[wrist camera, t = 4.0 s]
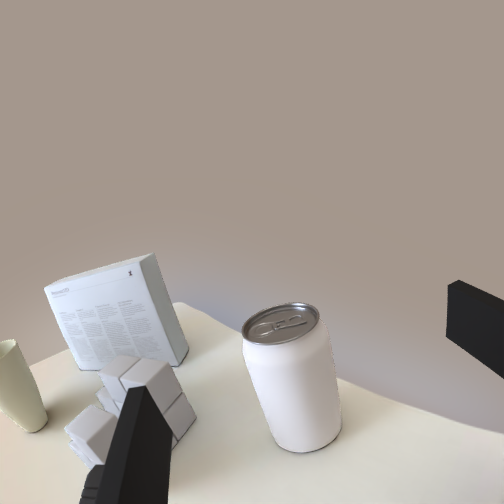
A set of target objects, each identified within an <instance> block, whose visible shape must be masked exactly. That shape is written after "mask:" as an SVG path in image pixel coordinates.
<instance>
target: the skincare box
mask: <svg viewBox="0 0 504 504" xmlns="http://www.w3.org/2000/svg"><path fill="white" fill-rule="evenodd" d="M44 291H45V293H46V295H47V298H48V300H49V303H50V305H51V308H52V310H53V313H54V315H55V317H56V320H57V323H58V325H59V327H60V329H61V332H62V334H63V336H64V338H65V340H66V342H67V344H68V346H69V348H70V350H71V352H72V354H73V356H74V358H75V360H76V362H77V364H78V366H79V368H80V370H101V369H102V368H103V367H104V366H106V365H107V364H108V363H109V362H110V361H112V360H113V359H114V358H115V357H116V356H118V355H119V354H120V355H126V356H133V357H139V358H141V359H142V358H146V359H153V360H160V361H168V362H169V364H170V366H178V365H180V363H181V362H182V360H183V358H184V357H185V355H186V353H187V351H188V349H189V346H188V344H187V342H186V339H185V337H184V334H183V332H182V329H181V327H180V324H179V321H178V319H177V316H176V314H175V311H174V308H173V306H172V303H171V300H170V298H169V295H168V292H167V289H166V286H165V283H164V281H163V278H162V275H161V272H160V269H159V266H158V263H157V260H156V257H155V254H154V253H150V254H147V255H144V256H140V257H136V258H132V259H128V260H124V261H121V262H117V263H114V264H110V265H107V266H104V267H100V268H96V269H93V270H89V271H86V272H83V273H79V274H76V275H72V276H69V277H66V278H62V279H60V280H58V281H56V282H54V283H52V284H50V285H49V286H47V287H45V288H44Z"/></svg>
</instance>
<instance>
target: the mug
mask: <svg viewBox="0 0 504 504" xmlns="http://www.w3.org/2000/svg"><path fill="white" fill-rule="evenodd" d="M0 410H1V411H2V412H3V413H4V414H5V415H6V416H7V417H8V418H10V419H11V420H12V421H13V422H15V423H16V424H17V425H18V426H20V427H21V428H22V429H23V430H25V431H26V432H28V433H33V432H36V431H38V430H40V429H41V428H42V427H43V426H44V425H45V424H46V422H47V420H48V417H47V414H46V411H45V408H44V405H43V402H42V399H41V396H40V393H39V390H38V387H37V384H36V382H35V380H34V377H33V375H32V373H31V371H30V369H29V367H28V365H27V363H26V361H25V359H24V357H23V355H22V352H21V350H20V348H19V346H18V343H17V341H16V340H14V339H11V340H6V341H3V342H0Z"/></svg>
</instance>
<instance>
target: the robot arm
mask: <svg viewBox="0 0 504 504" xmlns="http://www.w3.org/2000/svg"><path fill="white" fill-rule="evenodd" d="M446 337H447V338H448V339H450V340H451V341H453V342H454V343H455V344H457V345H458V346H460V347H461V348H462V349H464V350H465V351H466V352H468V353H469V354H471V355H472V356H473V357H475V358H476V359H478V360H479V361H480V362H482V363H483V364H485V365H486V366H487V367H489V368H490V369H491V370H493V371H494V372H495V373H497V374H498V375H499V376H501V377H502V378H503V379H504V300H502V299H500V298H498V297H495V296H493V295H491V294H489V293H487V292H485V291H482V290H480V289H478V288H476V287H474V286H472V285H469V284H467V283H465V282H463V281H460V280H457V281H455V282H453V283H452V284H449V285H448V306H447V328H446ZM172 439H173V431H172V429H171V428H170V426H169V425H168V423H167V421H166V420H165V418H164V416H163V415H162V413H161V411H160V410H159V408H158V406H157V405H156V403H155V401H154V399H153V398H152V396H151V394H150V392H149V390H148V389H147V387H146V385H144V386H138V387H132V388H128V391H127V394H126V397H125V400H124V403H123V406H122V409H121V412H120V415H119V418H118V422H117V425H116V428H115V431H114V434H113V438H112V441H111V444H110V448H109V451H108V454H107V458H106V461H105V464H95V466H94V467H93V468H92V470H91V471H90V472H89V474H88V475H87V478H86V481H85V485H84V489H83V491H82V495H81V497H82V499H81V498H80V502H79V504H168V489H169V475H170V462H171V450H172Z"/></svg>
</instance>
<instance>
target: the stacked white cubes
mask: <svg viewBox="0 0 504 504" xmlns="http://www.w3.org/2000/svg"><path fill="white" fill-rule="evenodd" d="M98 375H99V377H100V378H101V380H102V382H103V383H104V386H103V387H102V388H101V389H100V390H98V391H97V392H96V393H95V394H96V396H97V398H98V399H99V401H100V402H101V404H102V405H103V407H104V409H105V410H106V411H105V410H102V409H100V408H98V407H96V406H93V405H89V406H88V407H87V408H86V409H85V410H84V411H83V412H82V413H80V414H79V415H78V416H77V417H76V418H75V419H74V420H73V421H71V422H70V423H69V424H68V425H67V426H66V427H65V431H66V432H67V433H68V434H69V436H70V437H71V438H72V441H70V442H69V443H68V445H69V446H70V447H71V449H72V450H73V451H74V452H75V453H76V454H77V456H78V457H79V458H80V459H81V460H82V461H83V462H84V463H85V465H86V466H87V467H89V468H90V469H92V468H93V467H94V466H95V464H105V461H106V458H107V454H108V451H109V448H110V444H111V441H112V438H113V434H114V431H115V428H116V425H117V422H118V418H119V415H120V412H121V409H122V406H123V403H124V400H125V397H126V394H127V391H128V388H132V387H138V386H144V385H146V387H147V389H148V390H149V392H150V394H151V396H152V398H153V399H154V401H155V403H156V405H157V406H158V408H159V410H160V411H161V413H162V415H163V416H164V418H165V420H166V421H167V423H168V425H169V426H170V428H171V429H172V431H173V439H172V449H173V447H174V446H175V445H176V444H177V441H176V440H180V438H181V437H182V436H183V435H184V433H185V432H186V431H187V429H188V428H189V427H190V425H191V424H192V423H193V421H194V420H195V419H196V415H195V413H194V411H193V409H192V407H191V405H190V403H189V402H188V400H187V398H186V396H185V394H184V393H183V392H182V388H181V386H180V384H179V382H178V380H177V378H176V376H175V374H174V372H173V370H172V368H171V366H170V364H169V362H168V361H160V360H153V359H146V358H142V359H141V358H139V357H133V356H126V355H120V354H119V355H118V356H116V357H115V358H114V359H113V360H112V361H110V362H109V363H108V364H107V365H106V366H104V367H103V368H102V369H101V370H99V371H98Z"/></svg>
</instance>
